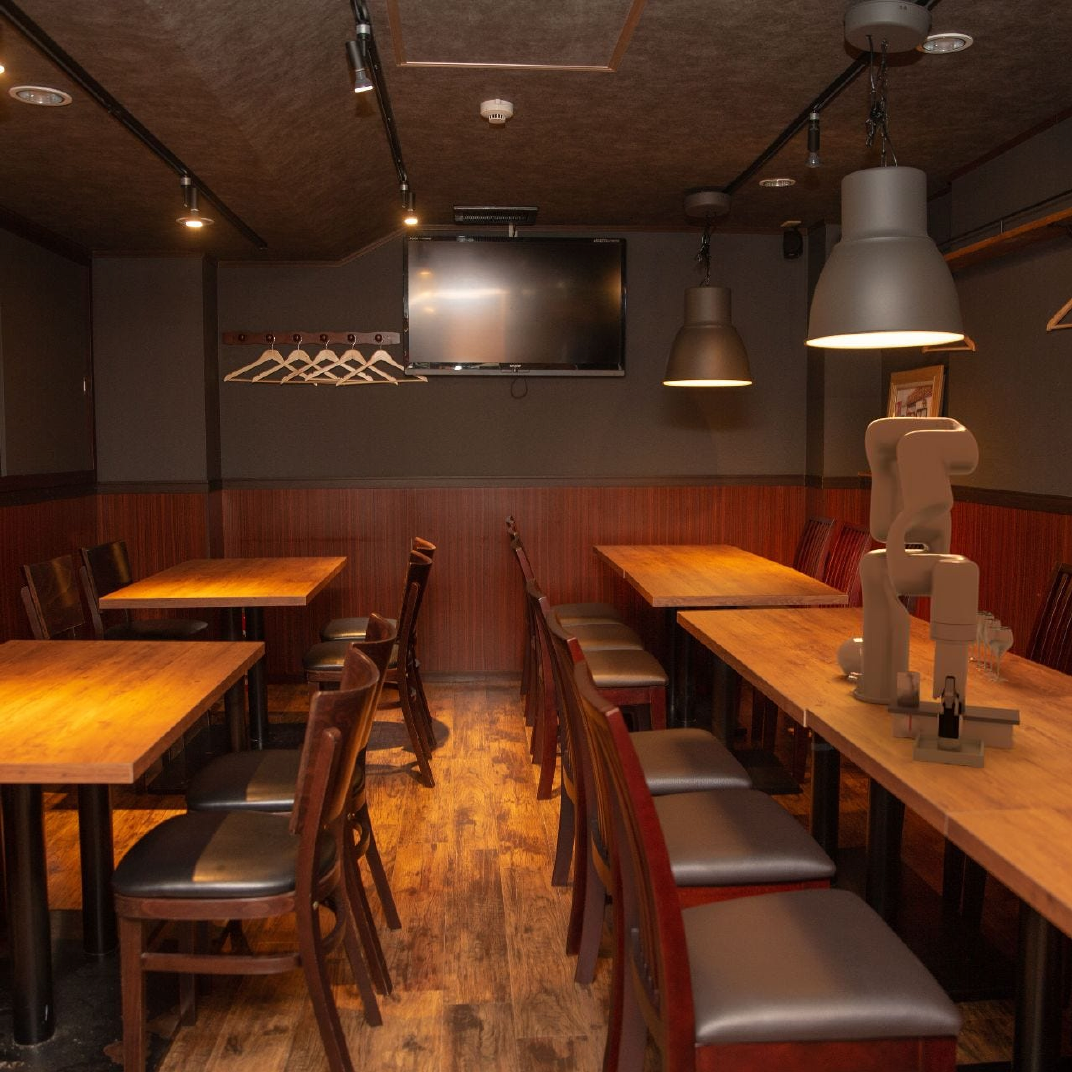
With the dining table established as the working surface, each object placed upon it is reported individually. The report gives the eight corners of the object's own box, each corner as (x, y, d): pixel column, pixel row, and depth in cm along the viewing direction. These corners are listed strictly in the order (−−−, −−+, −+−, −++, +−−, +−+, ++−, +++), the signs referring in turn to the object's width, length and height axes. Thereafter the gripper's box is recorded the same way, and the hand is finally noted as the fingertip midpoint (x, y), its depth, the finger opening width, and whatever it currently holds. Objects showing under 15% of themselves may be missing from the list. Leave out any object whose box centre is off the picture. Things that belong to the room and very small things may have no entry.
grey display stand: (886, 736, 193) (887, 708, 193) (891, 725, 201) (891, 698, 200) (1018, 750, 184) (1019, 720, 184) (1018, 738, 192) (1019, 710, 192)
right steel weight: (931, 749, 182) (932, 714, 181) (945, 744, 184) (946, 711, 184) (953, 754, 179) (954, 719, 178) (966, 750, 181) (967, 715, 180)
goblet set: (958, 658, 267) (959, 606, 266) (982, 659, 266) (984, 606, 265) (988, 682, 239) (990, 624, 238) (1014, 683, 238) (1017, 625, 237)
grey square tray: (912, 759, 179) (912, 748, 179) (917, 743, 189) (917, 732, 189) (983, 767, 174) (983, 756, 174) (984, 750, 184) (984, 739, 184)
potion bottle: (831, 680, 246) (897, 691, 244) (839, 663, 238) (907, 674, 236) (833, 645, 251) (898, 654, 249) (841, 627, 243) (908, 636, 240)
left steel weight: (892, 704, 196) (892, 672, 195) (905, 701, 198) (906, 669, 198) (910, 708, 193) (911, 676, 192) (923, 705, 195) (924, 673, 194)
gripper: (932, 623, 189) (929, 716, 191) (926, 638, 173) (923, 740, 175) (978, 625, 186) (974, 721, 188) (975, 642, 170) (971, 746, 172)
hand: (949, 730), depth 181 cm, fingers open, 9 cm apart
